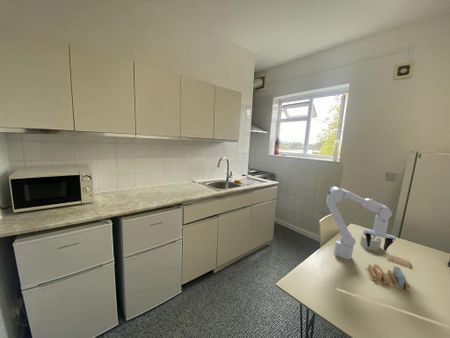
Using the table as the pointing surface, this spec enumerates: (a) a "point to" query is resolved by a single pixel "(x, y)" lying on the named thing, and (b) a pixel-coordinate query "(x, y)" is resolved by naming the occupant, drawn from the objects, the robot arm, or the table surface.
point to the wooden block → (377, 272)
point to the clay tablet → (398, 261)
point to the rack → (387, 279)
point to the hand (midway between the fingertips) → (376, 247)
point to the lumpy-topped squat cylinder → (371, 242)
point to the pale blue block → (399, 276)
